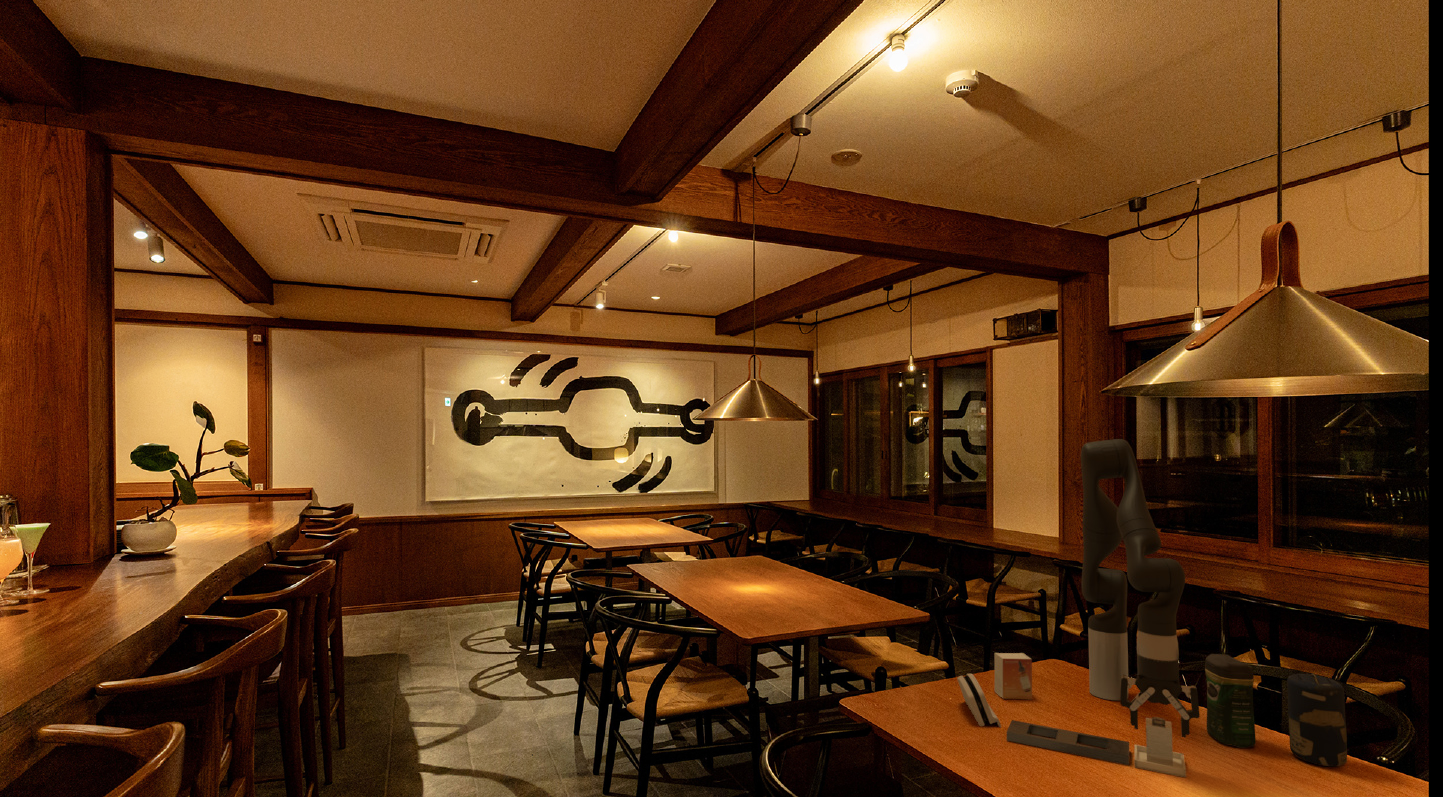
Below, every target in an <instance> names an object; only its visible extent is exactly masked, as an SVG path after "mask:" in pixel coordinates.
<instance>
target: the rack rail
mask: <svg viewBox="0 0 1443 797" xmlns="http://www.w3.org/2000/svg"><path fill="white" fill-rule="evenodd" d="M1044 736H1045V737H1044ZM1049 737H1050V738H1049ZM1006 742H1011V743H1017V744H1020V745H1021V744H1023V745H1026V746H1031V747H1036V748H1042V749H1046V750H1050V751H1051V750H1052V751H1056V752H1061V753H1065V754H1070V755H1071V754H1072V755H1077V756H1081V757H1085V758H1090V759H1095V760H1100V761H1105V762H1111V763H1116V764H1120V765H1125V766H1130V742H1129V741H1127V740H1121V739H1115V738H1111V737H1105V736H1100V735H1095V734H1094V735H1093V734H1089V733H1084V732H1080V731H1079V732H1078V731H1072V730H1067V729H1063V728H1057V727H1052V726H1048V725H1047V726H1046V725H1041V724H1037V723H1036V724H1034V723H1030V722H1025V721H1020V720H1015V719H1011V721H1010V723H1009V726H1008V728H1007V729H1006Z"/></svg>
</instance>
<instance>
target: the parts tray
mask: <svg viewBox="0 0 1443 797" xmlns="http://www.w3.org/2000/svg"><path fill="white" fill-rule="evenodd" d="M1172 752H1173V767H1172V766H1167V765H1162V764H1157V763H1152V762H1147V746H1144V745H1139V744H1134V768H1137V769H1141V770H1146V771H1149V772H1150V771H1151V772H1156V773H1161V774H1165V775H1171V776H1174V777H1175V776H1176V777H1182V778H1185V779H1187V767H1186V762H1185V756H1184V753H1182V752H1176V751H1172Z"/></svg>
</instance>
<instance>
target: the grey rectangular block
mask: <svg viewBox="0 0 1443 797" xmlns="http://www.w3.org/2000/svg"><path fill="white" fill-rule="evenodd" d="M1145 733H1146V735H1145V736H1146V741H1145V742H1146V746H1145V747H1147V762H1152V763H1157V764H1162V765H1167V766H1172V767H1173V752H1174V751H1173V728H1172V721H1168V720H1166V719H1164V718H1163V717H1159V716H1153V717H1145Z"/></svg>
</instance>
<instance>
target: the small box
mask: <svg viewBox="0 0 1443 797" xmlns="http://www.w3.org/2000/svg"><path fill="white" fill-rule="evenodd" d="M1032 664H1033V659H1032V658H1031V657H1029V656H1028V655H1026V654H1025V653H1024V652H1019V653H1017V652H1016V653H1015V652H1013V653H1011V652H1010V653H1009V652H1008V653H1007V652H1005V653H1003V652H1000V653H999V652H994V692H995V693H996V694H997V695H998V696H999V697H1000V698H1001V697H1002V700H1003V699H1005V700H1006V699H1009V700H1010V699H1011V700H1012V699H1013V700H1016V699H1017V700H1033V665H1032Z"/></svg>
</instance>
